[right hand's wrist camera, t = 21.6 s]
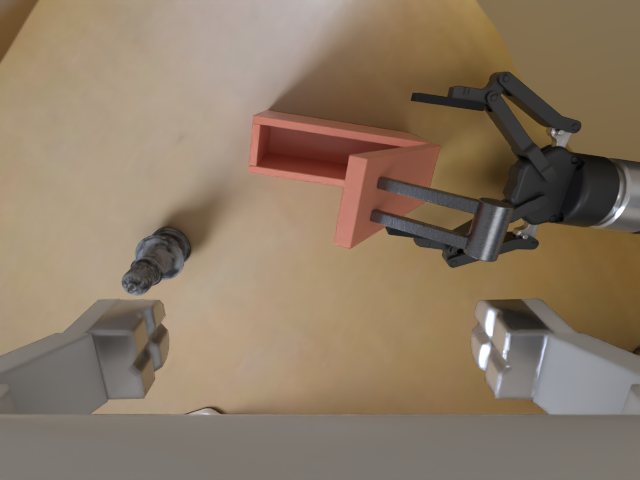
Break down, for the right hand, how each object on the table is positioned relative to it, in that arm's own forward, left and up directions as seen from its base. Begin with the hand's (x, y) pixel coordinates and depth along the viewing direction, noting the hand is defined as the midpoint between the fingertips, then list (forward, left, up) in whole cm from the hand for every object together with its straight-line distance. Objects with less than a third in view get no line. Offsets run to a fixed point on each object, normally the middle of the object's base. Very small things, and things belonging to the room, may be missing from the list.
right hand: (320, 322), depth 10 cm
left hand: (+8, -3, -32) cm, 33 cm away
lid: (+5, -2, -21) cm, 22 cm away
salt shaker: (-22, -10, -39) cm, 46 cm away
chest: (+2, -1, -39) cm, 39 cm away
